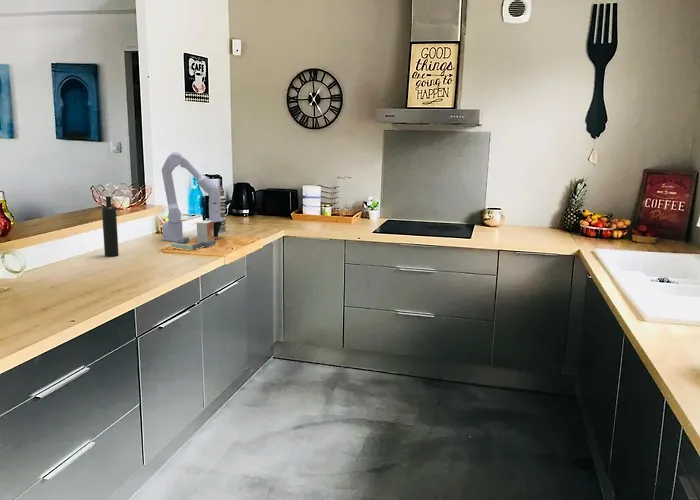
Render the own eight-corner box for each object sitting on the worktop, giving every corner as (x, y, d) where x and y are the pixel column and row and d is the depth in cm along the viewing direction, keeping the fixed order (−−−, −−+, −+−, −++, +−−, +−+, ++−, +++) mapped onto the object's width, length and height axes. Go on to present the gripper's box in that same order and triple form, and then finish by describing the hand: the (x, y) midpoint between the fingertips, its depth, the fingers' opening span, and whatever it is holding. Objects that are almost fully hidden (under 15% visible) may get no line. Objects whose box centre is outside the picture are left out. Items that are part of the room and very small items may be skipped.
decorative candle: (222, 230, 329) (221, 186, 324) (229, 233, 322) (228, 187, 317) (206, 232, 324) (205, 186, 319) (212, 235, 317) (211, 188, 312)
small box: (207, 243, 294) (206, 223, 292) (197, 243, 295) (196, 222, 293) (214, 240, 302) (213, 220, 300) (204, 240, 303) (203, 219, 301)
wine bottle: (105, 257, 260) (101, 189, 254) (104, 254, 265) (99, 187, 259) (119, 256, 263) (115, 189, 257) (117, 253, 268) (113, 187, 262)
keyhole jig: (166, 248, 282) (166, 243, 281) (187, 241, 297) (187, 237, 297) (196, 251, 277) (196, 246, 276) (215, 244, 292) (215, 239, 292)
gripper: (213, 213, 296) (214, 239, 299) (228, 209, 309) (229, 235, 312) (201, 212, 298) (202, 238, 301) (216, 208, 312) (217, 233, 314)
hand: (215, 236), depth 307 cm, fingers closed
